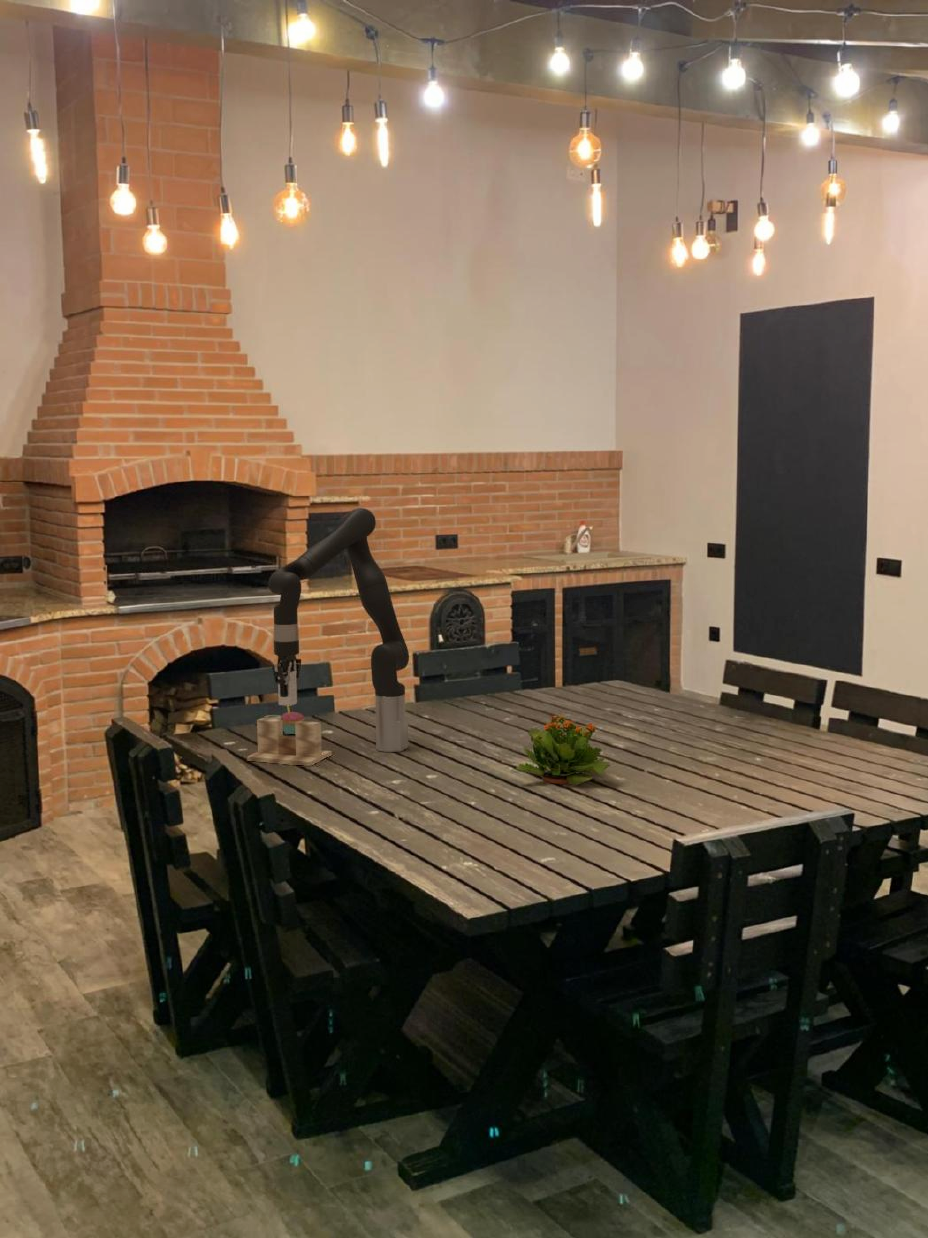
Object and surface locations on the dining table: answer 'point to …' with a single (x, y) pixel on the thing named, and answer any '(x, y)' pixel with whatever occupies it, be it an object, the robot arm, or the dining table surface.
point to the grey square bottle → (289, 690)
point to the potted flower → (563, 753)
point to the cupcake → (291, 721)
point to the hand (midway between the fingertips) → (287, 695)
